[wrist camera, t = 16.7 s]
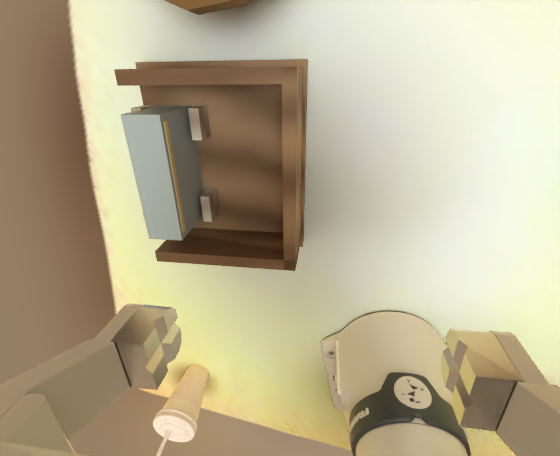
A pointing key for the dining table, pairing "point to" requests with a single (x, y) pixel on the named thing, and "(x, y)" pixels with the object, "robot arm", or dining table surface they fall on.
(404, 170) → the dining table surface
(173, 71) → the wooden box
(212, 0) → the flowerpot
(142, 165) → the grey box with stripe
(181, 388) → the smoothie
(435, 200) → the dining table surface
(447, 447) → the robot arm
